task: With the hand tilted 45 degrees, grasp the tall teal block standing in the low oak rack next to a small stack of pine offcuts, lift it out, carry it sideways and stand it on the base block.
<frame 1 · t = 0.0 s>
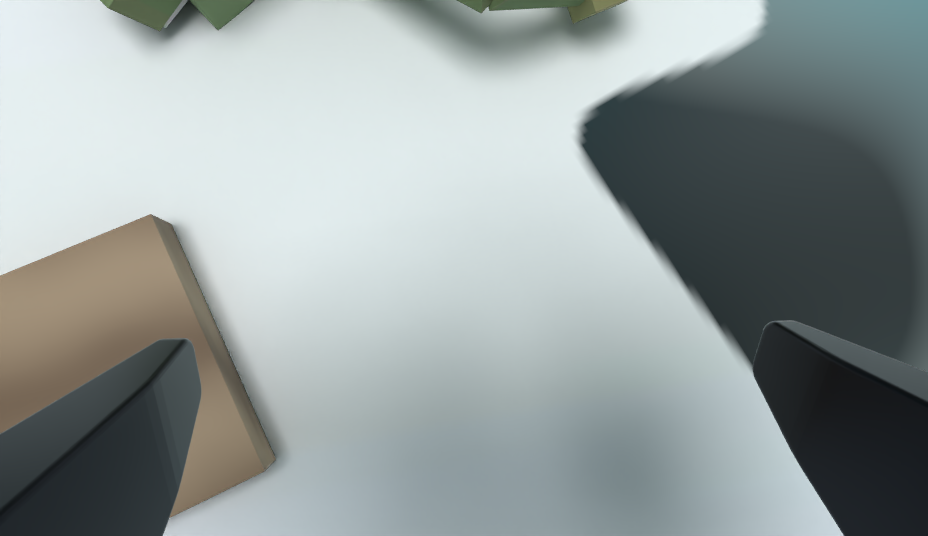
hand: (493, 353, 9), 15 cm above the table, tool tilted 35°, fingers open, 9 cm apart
base block: (95, 398, 22), on the table
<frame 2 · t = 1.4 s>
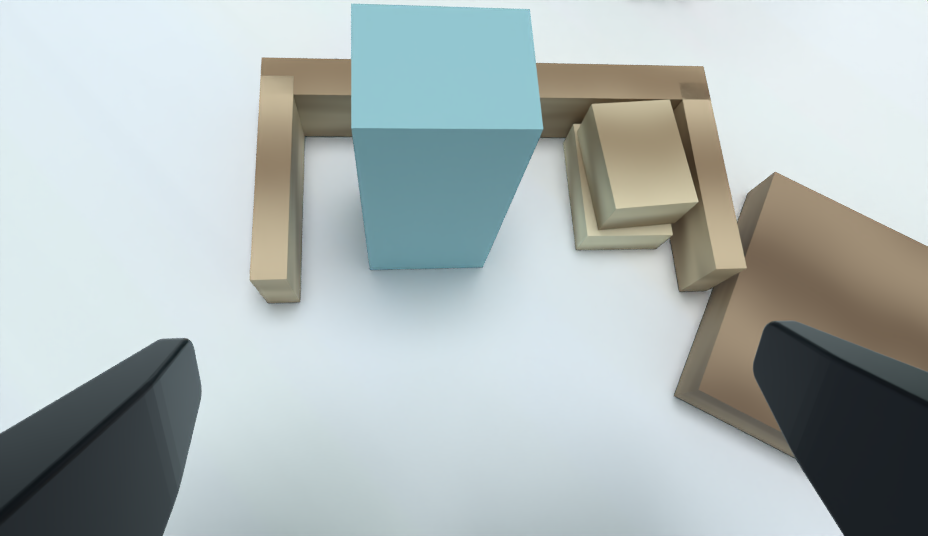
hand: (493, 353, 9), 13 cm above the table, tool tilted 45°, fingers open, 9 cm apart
base block: (823, 342, 25), on the table
offcut top: (624, 176, 24), point 2 cm above the table, touching offcut low
rack: (425, 227, 24), on the table
offcut low: (605, 198, 26), on the table, touching offcut top
teal block: (432, 167, 19), in the rack
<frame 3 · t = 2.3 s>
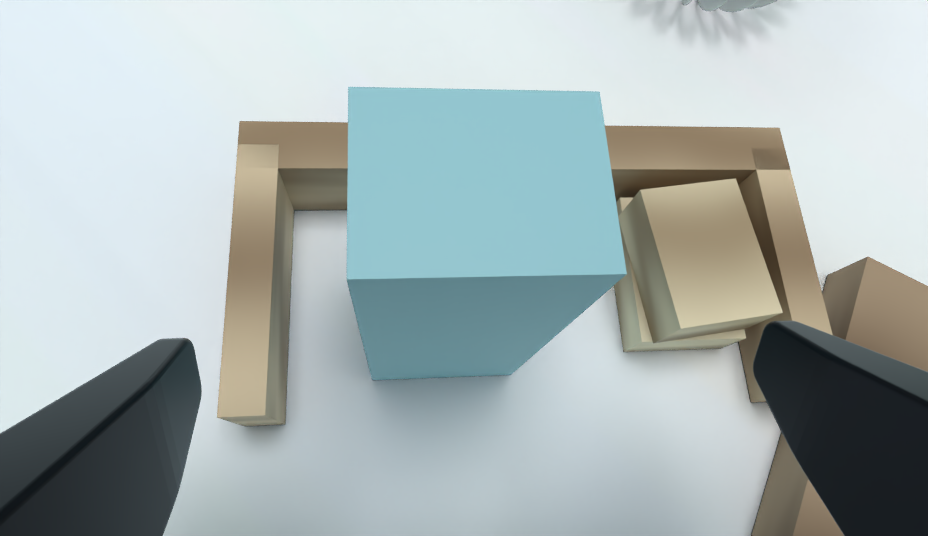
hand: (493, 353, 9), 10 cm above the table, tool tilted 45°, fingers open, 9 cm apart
offcut top: (680, 271, 20), point 2 cm above the table, touching offcut low
rack: (440, 324, 20), on the table
offcut low: (656, 283, 22), on the table, touching offcut top
teal block: (454, 275, 15), in the rack
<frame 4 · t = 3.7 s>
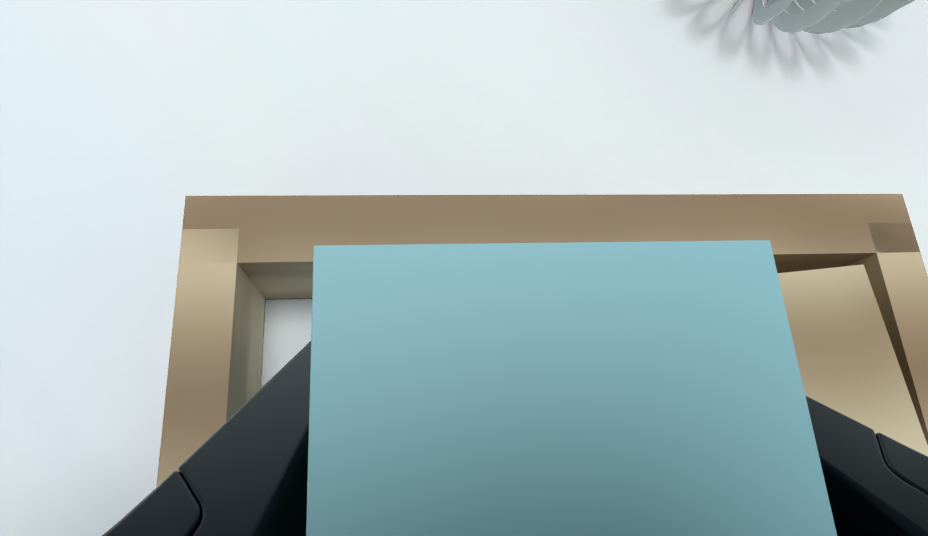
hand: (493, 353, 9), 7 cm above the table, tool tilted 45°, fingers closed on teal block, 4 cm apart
offcut top: (777, 378, 15), point 2 cm above the table, touching offcut low
rack: (456, 455, 15), on the table
teal block: (486, 448, 10), in the rack, touching gripper
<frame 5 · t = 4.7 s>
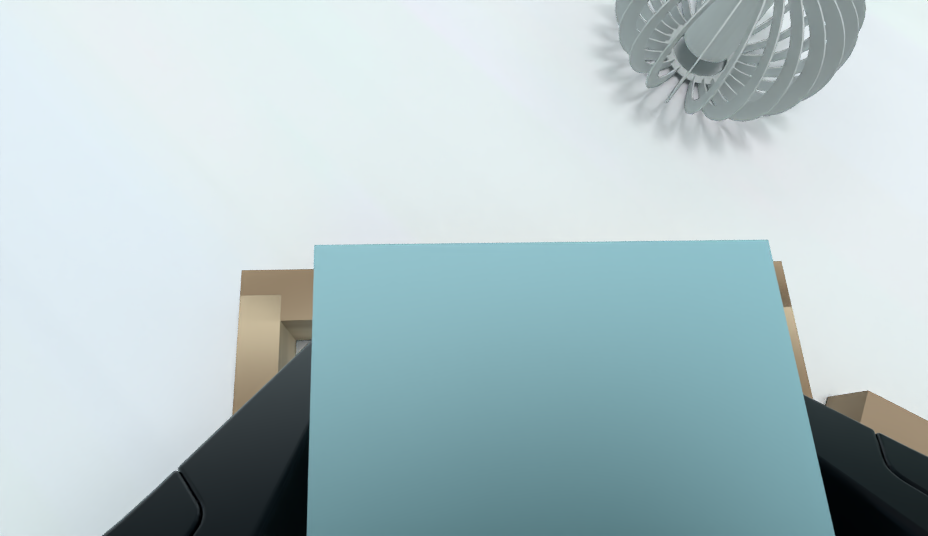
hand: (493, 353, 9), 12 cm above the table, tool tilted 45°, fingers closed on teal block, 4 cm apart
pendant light: (695, 59, 27), on the table
rack: (442, 459, 20), on the table
teal block: (486, 447, 10), point 10 cm above the table, touching gripper
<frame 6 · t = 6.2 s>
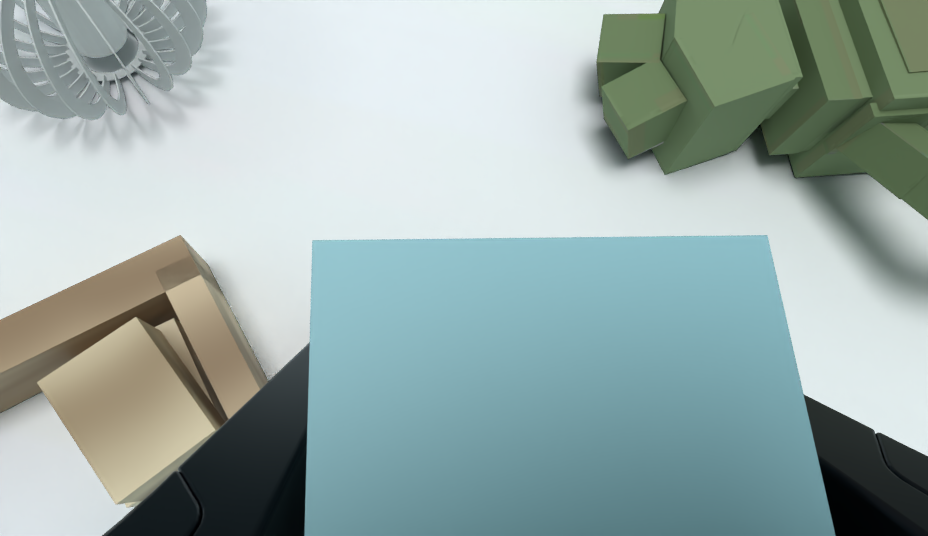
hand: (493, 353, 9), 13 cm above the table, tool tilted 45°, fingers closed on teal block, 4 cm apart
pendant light: (112, 55, 26), on the table
offcut top: (152, 411, 20), point 2 cm above the table, touching offcut low
offcut low: (172, 413, 21), on the table, touching offcut top
toy: (870, 111, 29), on the table
teal block: (485, 445, 10), point 12 cm above the table, touching gripper
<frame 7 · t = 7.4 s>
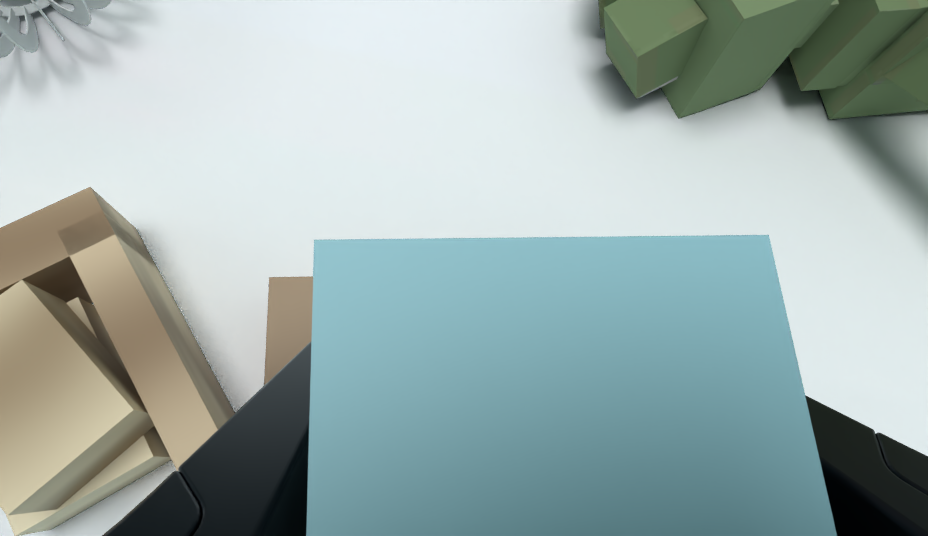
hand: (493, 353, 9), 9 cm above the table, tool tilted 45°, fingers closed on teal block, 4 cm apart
base block: (447, 453, 18), on the table
offcut top: (60, 399, 16), point 2 cm above the table, touching offcut low
offcut low: (85, 415, 17), on the table, touching offcut top
toy: (910, 45, 26), on the table
teal block: (486, 444, 10), point 8 cm above the table, touching gripper
when the fingers open (9 cm above the table, at t = 7.4 s): teal block stays where it is, resting on base block.
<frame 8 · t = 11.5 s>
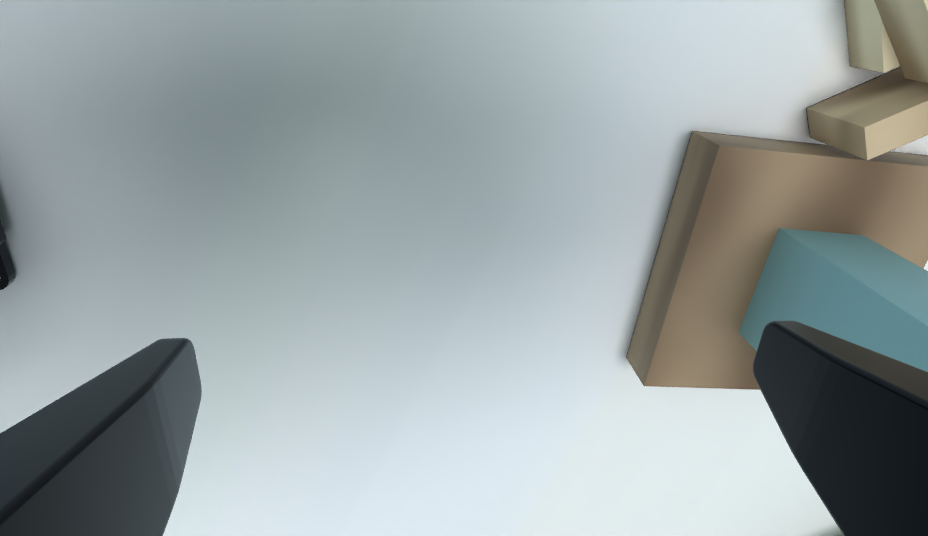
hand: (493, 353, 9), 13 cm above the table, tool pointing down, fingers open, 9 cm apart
base block: (769, 262, 25), on the table
teal block: (903, 366, 18), on the base block, point 7 cm above the table
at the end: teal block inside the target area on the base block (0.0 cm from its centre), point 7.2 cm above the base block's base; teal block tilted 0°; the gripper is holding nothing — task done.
